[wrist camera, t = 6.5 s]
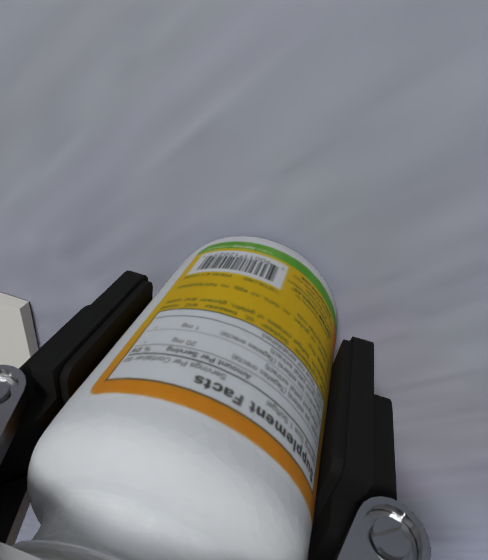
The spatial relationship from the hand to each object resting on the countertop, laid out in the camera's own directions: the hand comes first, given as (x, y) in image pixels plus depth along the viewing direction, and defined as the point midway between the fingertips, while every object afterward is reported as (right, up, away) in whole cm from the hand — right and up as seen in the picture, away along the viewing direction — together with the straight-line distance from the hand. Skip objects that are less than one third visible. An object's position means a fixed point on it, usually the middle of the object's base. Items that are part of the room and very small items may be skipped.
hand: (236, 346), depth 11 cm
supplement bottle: (+1, +1, +2) cm, 2 cm away
